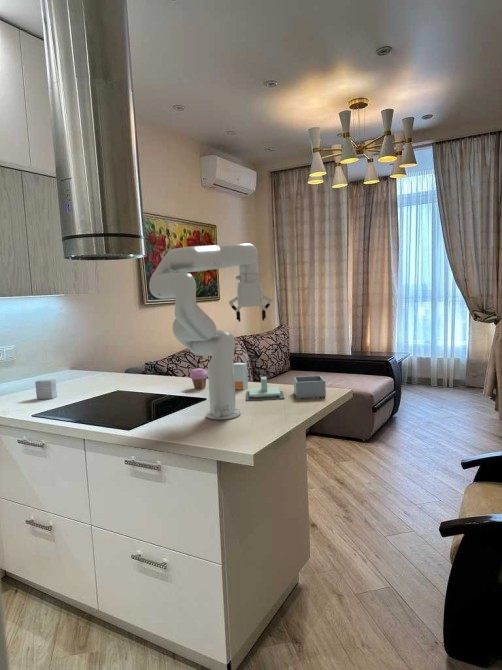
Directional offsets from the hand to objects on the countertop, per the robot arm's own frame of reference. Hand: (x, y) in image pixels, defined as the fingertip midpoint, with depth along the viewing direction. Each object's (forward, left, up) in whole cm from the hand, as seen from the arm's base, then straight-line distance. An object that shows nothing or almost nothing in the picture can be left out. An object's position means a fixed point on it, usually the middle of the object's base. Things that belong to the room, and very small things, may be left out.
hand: (251, 321), depth 178 cm
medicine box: (+27, +99, -34) cm, 108 cm away
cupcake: (+32, +27, -34) cm, 54 cm away
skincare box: (+27, +7, -34) cm, 44 cm away
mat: (+10, -4, -33) cm, 35 cm away
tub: (+7, -23, -33) cm, 41 cm away
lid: (+10, -4, -32) cm, 34 cm away
